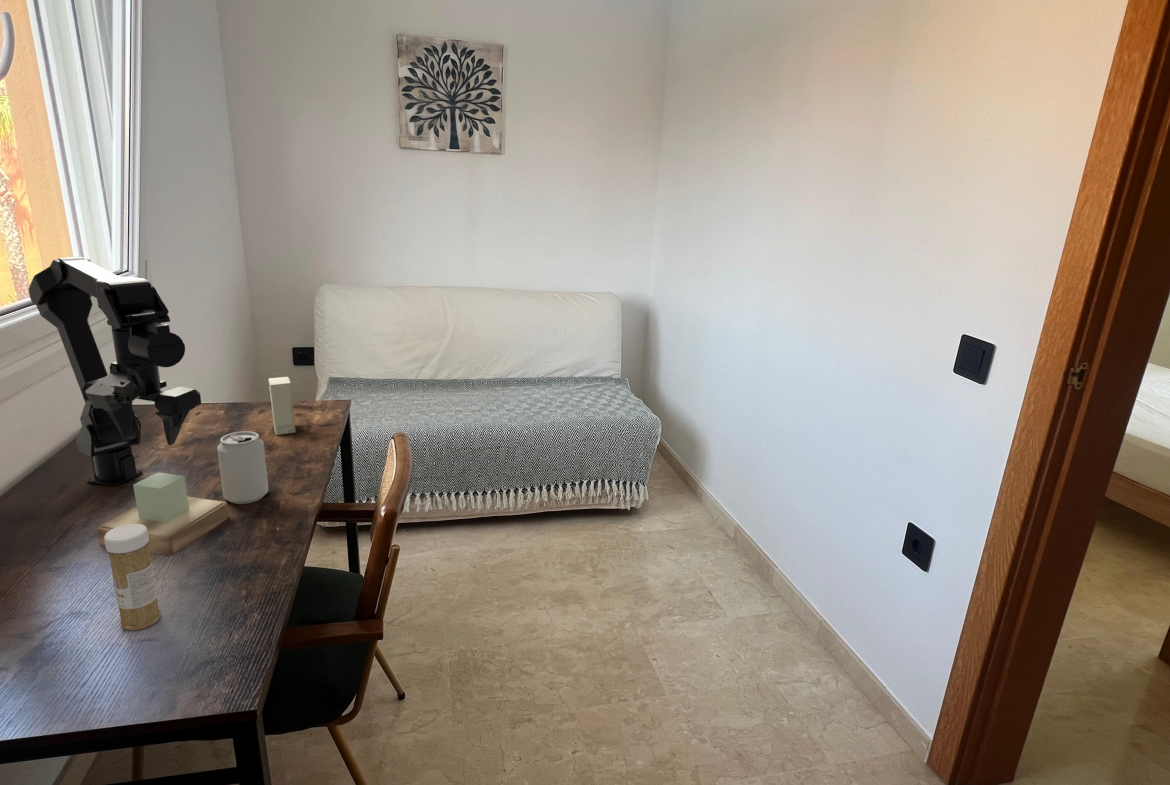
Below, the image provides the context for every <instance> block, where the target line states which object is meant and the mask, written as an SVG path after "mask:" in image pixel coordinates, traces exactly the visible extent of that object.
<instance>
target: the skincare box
mask: <svg viewBox="0 0 1170 785" xmlns="http://www.w3.org/2000/svg"><path fill="white" fill-rule="evenodd" d="M291 384H292V383H291V380H290V378H289V377H288V376H280V377H279V376H278V377H269V378H268V389H269V394H270V395H269V396H270V404H271V411H272V412H271V414H272V420H273V422H272V423H273V428H274V433H275V435H276V436H279V435H289V434H294V433H296V423H295V414H294V404H293V397H292V394H293V393H292V385H291Z"/></svg>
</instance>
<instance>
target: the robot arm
mask: <svg viewBox="0 0 1170 785" xmlns="http://www.w3.org/2000/svg"><path fill="white" fill-rule="evenodd" d="M28 295H29V298H30V301H31V303H32V304H34V305H35V306H36V308H37V310H38V313H39V315H40V317H42V318H43V319H44V320H45V321H47V322H49V323H50V324H52V326H54V327H55V328H56V329H57V332H58V334H59V336H60V339H61V342H62V345H63V348H64V350H65V353H66V355H67V359H68V360H69V363H70V366H71V368H72V371H73V374H74V377H75V379H76V382H77V384H78V387H79V390H80V392H81V395H82V398H83V401H84V406H83V409H82V412H81V415H80V417H79V420H80V421H79V422H80V423H81V428H80V431H79V433H78V435H77V438H76V439H75V442H76V446H77V448H78V451H79V452H80V453H81V454H83V455H86V456H87V457H89V458H90V461H91V468H92V471H93V476H92V477H91V476H90V477H89V478H87V479H86V482H87V483H93V484H97V485H106V486H113V487H116V486H118V485H121V484H123V483H125V482H126V481H129V480H131V479H134V478H135V477H138V476H140V475H141V474H143V470H142V469H137V466H136V461H135V460H136V459H135V454H133V450H132V446H138V445H140V444H141V434H142V430H141V429H142V423H141V421H140V419H139V418H138V416H137V415H136V414H135V412H134V409H133V401H135V400H142V401H148V402H153V403H154V408H156V409H157V411H156V412H154V414H155V415H156V416H157V417H159V418H160V419H162V423H163V429H164V434H165V436H164V437H165V439H166V440H165V441H166V442H167V445H168V446H172V445H174V444H175V443H176V441H177V438H178V436H179V434H180V432H181V429H182V426H183V425H184V424H183V423H184V421H185V419H186V418H187V417H188V415H189V412H190V411H191V410H193V409H195V408H196V407H197V406H198V407H199V406H200V405H202V397H201V393H200V392H199V391H198V390H197V389H196V388H190V387H183V386H177V387H174V388H172V389H168V390H165V391H162V389H164V388H167V387H168V384H167V380H162V379H161V377H160V371H159V368H171V367H174V366H176V365H177V364H178V363H180V362H181V361H182V359H183V358H184V356H185V352H186V345H185V343H184V341H183V338H181V337H180V336H179V335H178V334H176V333H174V332H171V329H170V325H169V324H166V323H171V317H170V316H169V312H170V311H169V309H168V308H167V306H166V304H165V302H164V301H163V299H162V298H161V296H160V294H159V293H158V292H157V289H156V288H155V286H154V285H152V283H151V282H150V281H149V280H147V279H146V278H142V277H135V276H134V277H133V276H119V275H117V274H114V273H113V272H111V271H109V270H107V269H105V268H103V267H101V266H99V265H97V264H95V263H93V262H92V261H91V259H90V258H88V257H84V256H76V257H73V256H72V257H58V258H56V259H52V261H51V263H50V265H49V266H48V267H47V268H45V269H43V270H42V271H40V272H38V273H36V274H35V275H33V277H32V279H31V282H30V284H29V286H28ZM92 297H94V298H95V299H96V301H97V307H98V308H99V309H100V310H101V311H102V313H103V314H104V315H105V317H106V318H107V321H106V325H108V326H110V327H111V333H112V335H111V336H112V340H113V347H114V354H115V359H116V360H115V361H113V362H110V363H109V364H110V365H109V366H108V367H109V374H108V371H107V368H106V366H105V364H104V361H103V359H102V358H103V357H102V356H101V353H100V351H99V348H98V345H97V342H96V339H95V337H94V334H93V331H92V329H91V326H90V324H89V320H88V319H89V316H90V313H91V310H92V307H93V302H92Z"/></svg>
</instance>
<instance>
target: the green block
mask: <svg viewBox="0 0 1170 785" xmlns="http://www.w3.org/2000/svg"><path fill="white" fill-rule="evenodd" d="M132 486H133V491H134V496H135V498H134V499H135V504H136V506H137V510H138V516H139V519H146V520H152V521H158V522H165V523H166V522H168V521H169V520H171V519H173V518H174V517H176V516H178V515H180V514H181V513H183V512H185V511H186V510H188V509H189V503H188V491H187V484H186V476H185V475H180V474H172V473H165V472H159V471H158V472H155V473H154V474H152V475H150V476H148V477H146V478H144V479H142V480H140V481H138V482H136V483H134V484H133V485H132Z"/></svg>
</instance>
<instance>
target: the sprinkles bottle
mask: <svg viewBox="0 0 1170 785" xmlns="http://www.w3.org/2000/svg"><path fill="white" fill-rule="evenodd" d="M104 541H105V545H104V546H105V550H106V551H107V553H108V556H109V562H110V567H111V572H112V574H111V575H112V576H111V577H112V580H113V586H114V592H115V597H116V603H117V606H118V612H119V618H120V621H119V622H120V623H119V624H120V627H121V628H122V629H123V630H127V631H139V630H142V629H145V628H148V627H151V626H153V625H154V624H155V623H156V622H158V621H159V620H160V617H161V616H162V613H161V611H160V609H159V607H160V606H159V603H158V597H157V596H158V593H157V592H158V591H157V585H156V578H155V573H154V567H153V566H154V565H153V561H152V557H151V553H150V552H149V545H148V544H149V535H148V531H147V528H146V526H144V525H141V524H127V525H122V526H119V527H116V528H114V529H112V530H110V531H109V532H107V533H106V535H105V537H104Z"/></svg>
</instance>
